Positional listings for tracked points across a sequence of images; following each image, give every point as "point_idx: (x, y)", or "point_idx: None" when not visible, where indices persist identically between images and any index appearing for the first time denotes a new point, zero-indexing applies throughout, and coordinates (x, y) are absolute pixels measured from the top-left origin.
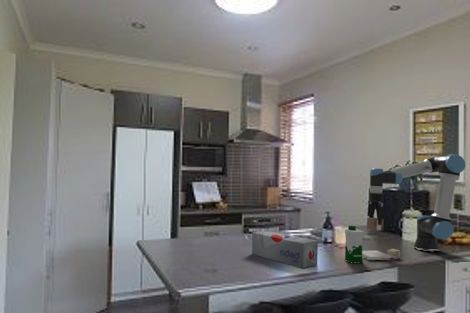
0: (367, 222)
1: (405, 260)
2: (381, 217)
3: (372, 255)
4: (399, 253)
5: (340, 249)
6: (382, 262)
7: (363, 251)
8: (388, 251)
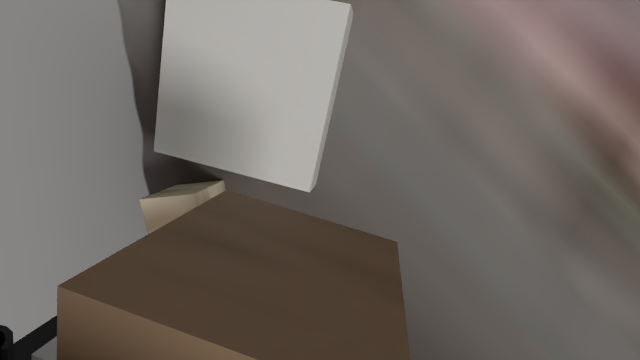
0: (388, 300)
1: None
2: None
3: (194, 30)
4: None
5: (578, 29)
6: (143, 51)
7: (317, 61)
8: (192, 192)
